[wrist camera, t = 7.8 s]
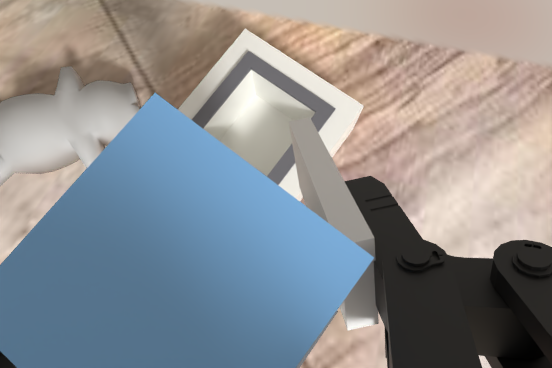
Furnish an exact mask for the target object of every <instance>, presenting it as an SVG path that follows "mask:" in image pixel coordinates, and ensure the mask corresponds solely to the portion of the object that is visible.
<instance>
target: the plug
mask: <svg viewBox="0 0 552 368" xmlns="http://www.w3.org/2000/svg"><path fill="white" fill-rule="evenodd" d="M373 259H374V257H373V256H372V255H370V254H369V253H368V252H366V251H365V250H364V249H362V248H361V247H360V246H358V245H357V244H356V243H354V242H353V241H352V240H350V239H349V238H348V237H346V236H345V235H344V234H342V233H341V232H340V231H338V230H337V229H336V228H334V227H333V226H332V225H330V224H329V223H328V222H326V221H325V220H324V219H322V218H321V217H320V216H318V215H317V214H316V213H314V212H313V211H312V210H310V209H309V208H308V207H306V206H305V205H304V204H302V203H301V202H300V201H298V200H297V199H296V198H294V197H293V196H292V195H290V194H289V193H288V192H286V191H285V190H284V189H282V188H281V187H280V186H278V185H277V184H276V183H274V182H273V181H272V180H270V179H269V178H268V177H266V176H265V175H264V174H263V173H261V172H260V171H259V170H257V169H256V168H255V167H253V166H252V165H251V164H249V163H248V162H247V161H245V160H244V159H243V158H241V157H240V156H239V155H237V154H236V153H235V152H233V151H232V150H231V149H229V148H228V147H227V146H225V145H224V144H223V143H221V142H220V141H219V140H217V139H216V138H215V137H213V136H212V135H211V134H209V133H208V132H207V131H205V130H204V129H203V128H201V127H200V126H199V125H197V124H196V123H195V122H193V121H192V120H191V119H189V118H188V117H187V116H185V115H184V114H183V113H181V112H180V111H179V110H177V109H176V108H175V107H173V106H172V105H171V104H169V103H168V102H167V101H165V100H164V99H163V98H161V97H160V96H159V95H157V94H156V93H154V94H153V95H152V96H151V98H150V99H149V100H148V101H147V102H146V103H145V104H144V105H143V107H142V108H141V109H140V110H139V111H138V112H137V113H136V114H135V115H134V117H133V118H132V119H131V120H130V121H129V122H128V123H127V124H126V125H125V127H124V128H123V129H122V130H121V131H120V132H119V133H118V134H117V135H116V137H115V138H114V139H113V140H112V141H111V142H110V143H109V144H108V146H107V147H106V148H105V149H104V150H103V151H102V152H101V153H100V154H99V156H98V157H97V158H96V159H95V160H94V161H93V162H92V163H91V164H90V166H89V167H88V168H87V169H86V170H85V171H84V172H83V173H82V174H81V176H80V177H79V178H78V179H77V180H76V181H75V182H74V183H73V184H72V186H71V187H70V188H69V189H68V190H67V191H66V192H65V193H64V195H63V196H62V197H61V198H60V199H59V200H58V201H57V202H56V203H55V205H54V206H53V207H52V208H51V209H50V210H49V211H48V212H47V213H46V215H45V216H44V217H43V218H42V219H41V220H40V221H39V222H38V223H37V225H36V226H35V227H34V228H33V229H32V230H31V231H30V232H29V233H28V235H27V236H26V237H25V238H24V239H23V240H22V241H21V242H20V244H19V245H18V246H17V247H16V248H15V249H14V250H13V251H12V252H11V254H10V255H9V256H8V257H7V258H6V259H5V260H4V261H3V262H2V264H1V265H0V351H1V352H2V353H3V354H4V355H5V356H6V357H7V358H8V359H9V360H10V361H11V362H12V363H13V364H14V365H15V366H16V367H17V368H296V367H297V365H298V364H299V362H300V361H301V360H302V358H303V357H304V355H305V354H306V353H307V351H308V350H309V348H310V347H311V346H312V344H313V343H314V341H315V340H316V339H317V337H318V336H319V334H320V333H321V332H322V330H323V329H324V327H325V326H326V325H327V323H328V322H329V320H330V319H331V318H332V316H333V315H334V313H335V312H336V311H337V309H338V308H339V306H340V305H341V304H342V302H343V301H344V300H345V298H346V297H347V295H348V294H349V293H350V291H351V290H352V288H353V287H354V286H355V284H356V283H357V281H358V280H359V279H360V277H361V276H362V274H363V273H364V272H365V270H366V269H367V267H368V266H369V265H370V263H371V262H372V260H373Z"/></svg>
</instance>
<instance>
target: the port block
mask: <svg viewBox="0 0 552 368" xmlns="http://www.w3.org/2000/svg"><path fill="white" fill-rule="evenodd" d="M362 109H363V105H362V104H360V103H359V102H357V101H356V100H354V99H352V98H351V97H349V96H348V95H346V94H345V93H343V92H342V91H340V90H339V89H337V88H336V87H334V86H333V85H331V84H330V83H328V82H326V81H325V80H323V79H322V78H320V77H319V76H317V75H316V74H314V73H313V72H311V71H310V70H308V69H307V68H305V67H303V66H302V65H300V64H299V63H297V62H296V61H294V60H293V59H291V58H290V57H288V56H287V55H285V54H284V53H282V52H281V51H279V50H277V49H276V48H274V47H273V46H271V45H270V44H268V43H267V42H265V41H264V40H262V39H261V38H259V37H258V36H256V35H254V34H253V33H251V32H250V31H248V30H247V29H244V31H243V32H242V33H241V34H240V35H239V37H238V38H237V39H236V40H235V41H234V43H233V44H232V45H231V46H230V47H229V49H228V50H227V51H226V52H225V53H224V55H223V56H222V57H221V58H220V59H219V61H218V62H217V63H216V64H215V65H214V66H213V68H212V69H211V70H210V71H209V72H208V74H207V75H206V76H205V77H204V78H203V80H202V81H201V82H200V83H199V84H198V86H197V87H196V88H195V89H194V90H193V92H192V93H191V94H190V95H189V96H188V98H187V99H186V100H185V101H184V102H183V104H182V105H181V106H180V107H179V108H178V110H179V111H180V112H181V113H183V114H184V115H185V116H187V117H188V118H189V119H191V120H192V121H193V122H195V123H196V124H197V125H199V126H200V127H201V128H203V129H204V130H205V131H207V132H208V133H209V134H211V135H212V136H213V137H215V138H216V139H217V140H219V141H220V142H221V143H223V144H224V145H225V146H227V147H228V148H229V149H231V150H232V151H233V152H235V153H236V154H237V155H239V156H240V157H241V158H243V159H244V160H245V161H247V162H248V163H249V164H251V165H252V166H253V167H255V168H256V169H257V170H259V171H260V172H261V173H263V174H264V175H265V176H266V177H268V178H269V179H270V180H272V181H273V182H274V183H276V184H277V185H278V186H280V187H281V188H282V189H284V190H285V191H286V192H288V193H289V194H290V195H292V196H293V197H294V198H296V199H297V200H298V201H300V200H301V199H302V198H303V196H302V193H301V190H300V187H299V181H298V175H297V169H296V163H295V157H294V151H293V145H292V139H291V133H290V127H289V121H294V120H299V119H303V118H308V117H310V118H311V120H312V122H313V124H314V126H315V127H316V129H317V131H318V133H319V135H320V137H321V139H322V141H323V142H324V144H325V146H326V148H327V150H328V152H329V154H330V156H331V157H333V156H334V154H335V153H336V152H337V150H338V149H339V148H340V146H341V145H342V144H343V142H344V141H345V139H346V138H347V137H348V135H349V134H350V133H351V131H352V130H353V128H354V126H355V124H356V121H357V119H358V117H359V115H360V113H361V111H362Z"/></svg>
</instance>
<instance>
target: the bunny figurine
mask: <svg viewBox="0 0 552 368" xmlns="http://www.w3.org/2000/svg"><path fill="white" fill-rule="evenodd" d="M139 108H140V104H139V101H138V97H137V94H136V91H135V89H134V87H133V86H132V84H131V82H130V83H126V84H121V83H117V82H112V81H95V82H92V83H89V84H87V85H86V86H84V84H83V82H82V79H81V77H80V76H79V75H78V74H77V72H76V71H75V70H74V69H73V67H72V66H70V67H61V70H60V75H59V79H58V84H57V88H56V92H55V95H49V94H40V93H37V94H26V95H21V96H16V97H11V98H9V99H6V100H4V101H2V102H0V186H1V185H2V184H3V183H4V182H5V181H6V180H7V179H8V178H9V177H11V176H12V175H13V174H14V173H32V174H42V173H47V172H52V171H55V170H58V169H61V168H64V167H66V166H68V165H70V164H72V163H74V162H76V161H78V160H79V159H81V161H82V162H83V164H84V165H85V167H86V168H88V167H89V166H90V164H91V163H92V162H93V161H94V160H95V159H96V158H97V157H98V156H99V154H100V153H101V152H102V151H103V150H104V145H107V146H108V144H109V143H110V142H111V141H112V140H113V139H114V138H115V137H116V135H117V134H118V133H119V132H120V131H121V130H122V129H123V128H124V127H125V125H126V124H127V123H128V122H129V121H130V120H131V119H132V118H133V117H134V115H135V114H136V113H137V112H138V111H139V110H140V109H139Z"/></svg>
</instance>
